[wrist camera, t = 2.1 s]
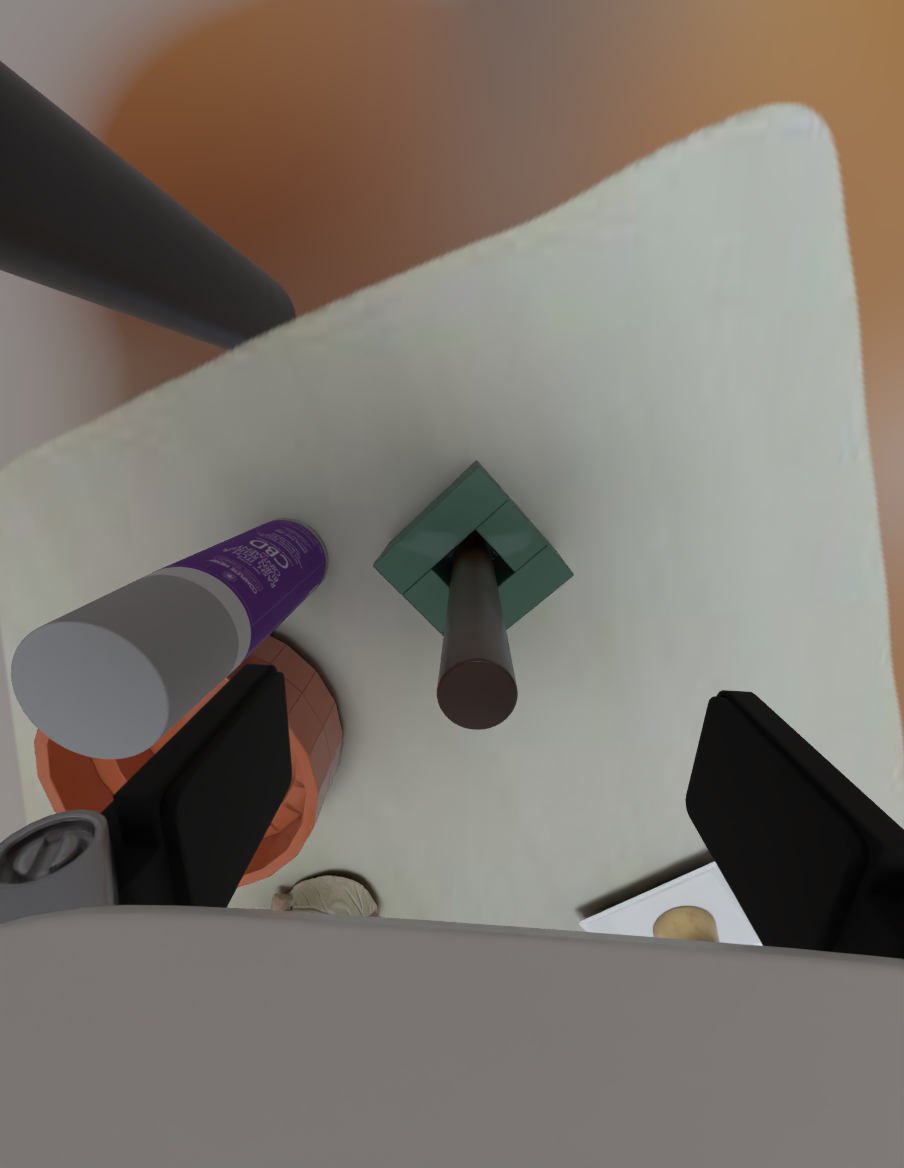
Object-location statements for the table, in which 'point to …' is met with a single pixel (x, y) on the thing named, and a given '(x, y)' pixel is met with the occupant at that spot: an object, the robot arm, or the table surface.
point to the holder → (463, 507)
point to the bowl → (97, 780)
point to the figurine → (327, 897)
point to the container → (162, 640)
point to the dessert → (680, 912)
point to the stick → (475, 643)
